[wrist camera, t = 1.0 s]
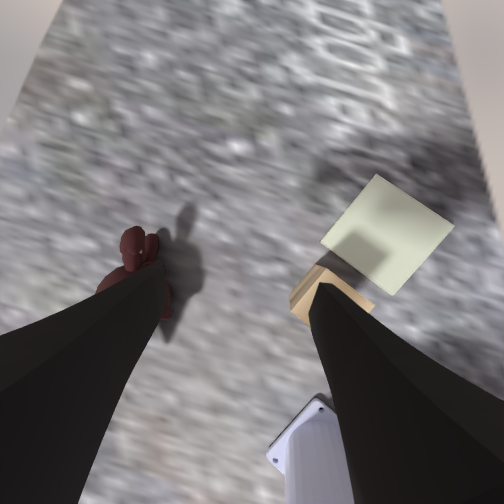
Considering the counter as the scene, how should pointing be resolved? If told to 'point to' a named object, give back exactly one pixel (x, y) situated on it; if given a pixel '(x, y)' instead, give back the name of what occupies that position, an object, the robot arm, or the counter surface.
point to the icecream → (136, 260)
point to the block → (308, 286)
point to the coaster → (386, 234)
